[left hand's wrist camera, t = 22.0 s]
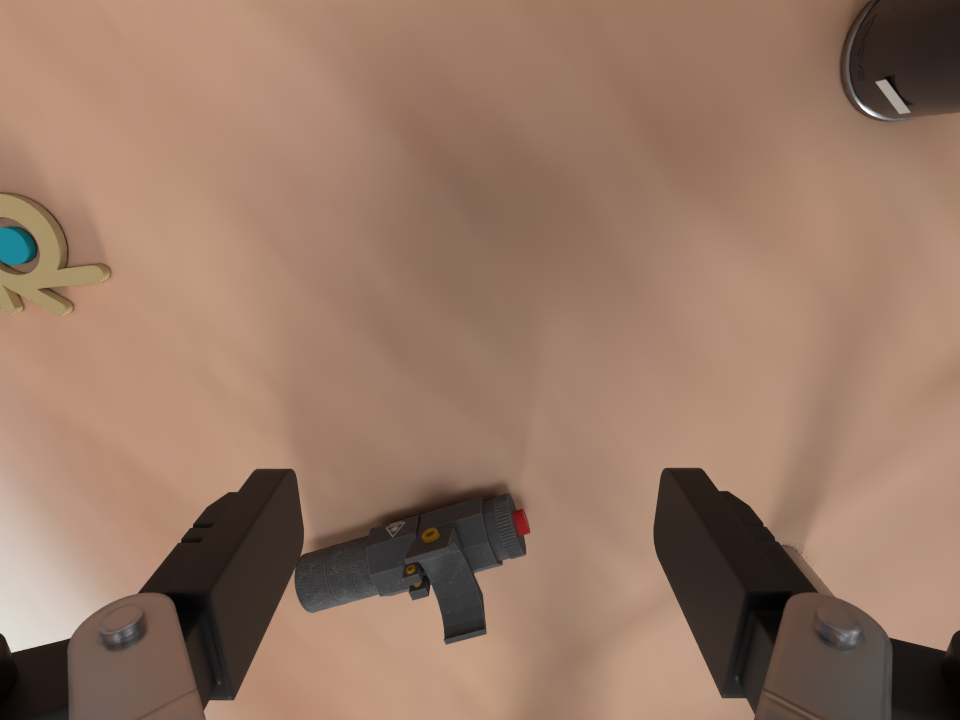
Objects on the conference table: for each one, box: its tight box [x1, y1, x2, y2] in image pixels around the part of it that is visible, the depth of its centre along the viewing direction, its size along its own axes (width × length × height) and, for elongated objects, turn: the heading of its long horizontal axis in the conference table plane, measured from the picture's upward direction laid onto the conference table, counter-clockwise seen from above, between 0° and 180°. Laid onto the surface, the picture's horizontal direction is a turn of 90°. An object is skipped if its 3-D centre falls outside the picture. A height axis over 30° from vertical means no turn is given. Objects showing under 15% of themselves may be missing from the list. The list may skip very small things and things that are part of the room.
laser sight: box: [295, 493, 530, 644], centre depth 49 cm, size 10×22×10 cm, turn 109°
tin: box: [782, 546, 835, 597], centre depth 51 cm, size 4×4×9 cm
